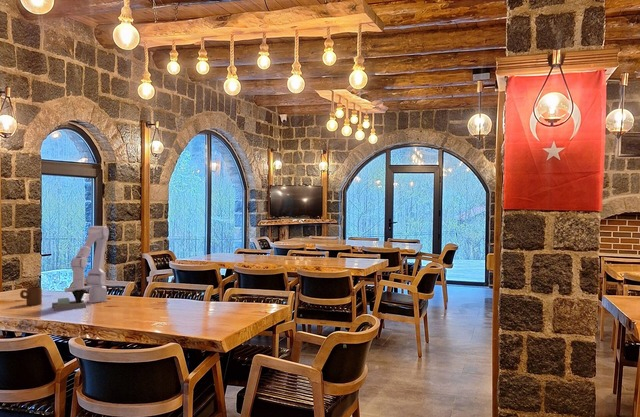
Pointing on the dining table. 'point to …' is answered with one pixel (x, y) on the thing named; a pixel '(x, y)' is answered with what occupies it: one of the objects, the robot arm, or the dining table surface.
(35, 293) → the mug
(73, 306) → the chute
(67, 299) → the block
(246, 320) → the dining table surface
